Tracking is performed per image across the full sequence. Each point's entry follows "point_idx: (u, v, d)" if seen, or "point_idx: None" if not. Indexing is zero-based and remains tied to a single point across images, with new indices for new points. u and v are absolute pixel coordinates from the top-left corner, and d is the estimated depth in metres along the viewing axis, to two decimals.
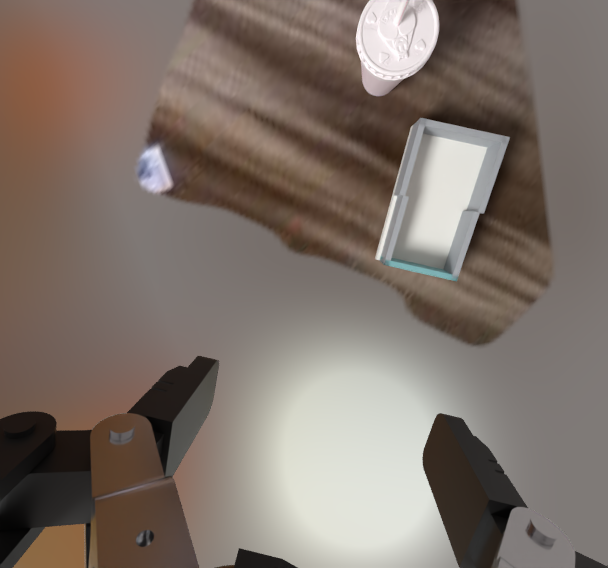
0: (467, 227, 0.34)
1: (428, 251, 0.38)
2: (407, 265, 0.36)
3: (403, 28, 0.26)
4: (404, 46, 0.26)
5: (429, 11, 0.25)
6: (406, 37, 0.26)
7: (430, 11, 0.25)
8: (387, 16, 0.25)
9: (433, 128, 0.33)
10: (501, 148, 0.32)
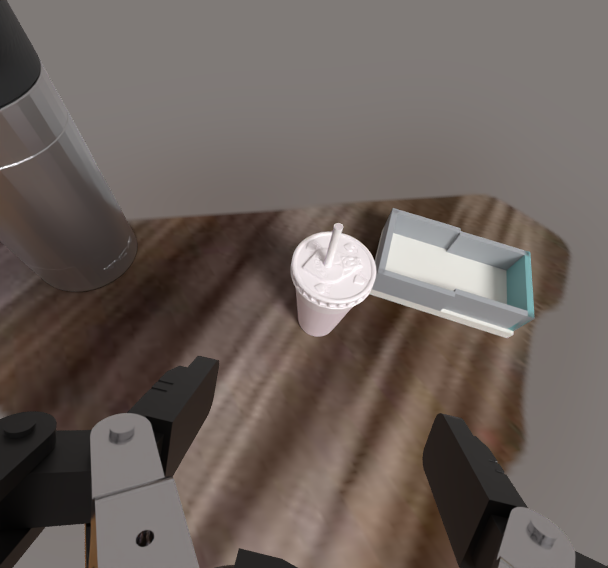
0: (474, 241, 0.35)
1: (491, 282, 0.36)
2: (527, 294, 0.32)
3: (334, 259, 0.24)
4: (351, 259, 0.24)
5: (319, 238, 0.25)
6: (342, 257, 0.24)
7: (320, 237, 0.25)
8: (321, 272, 0.24)
9: (385, 263, 0.32)
10: (402, 213, 0.35)
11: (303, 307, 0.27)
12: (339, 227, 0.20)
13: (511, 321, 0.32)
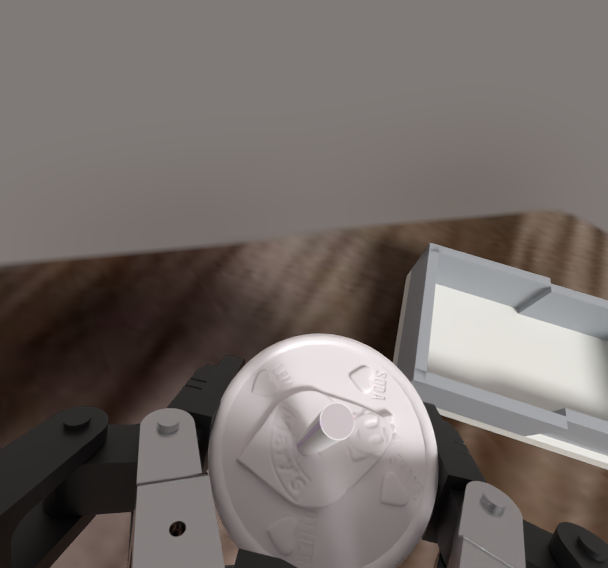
0: (576, 302, 0.20)
1: (602, 370, 0.20)
2: None
3: None
4: (370, 423, 0.09)
5: (290, 355, 0.10)
6: None
7: (290, 352, 0.10)
8: (290, 476, 0.08)
9: None
10: (447, 253, 0.20)
11: None
12: (341, 422, 0.05)
13: None
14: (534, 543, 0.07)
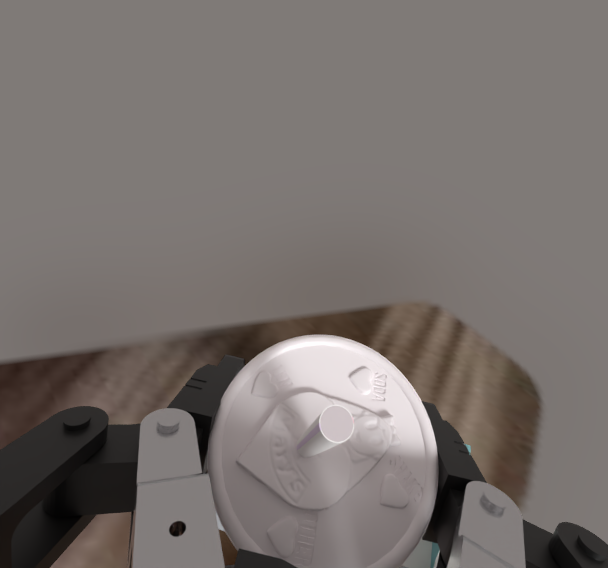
0: None
1: None
2: None
3: None
4: (370, 425, 0.09)
5: (289, 356, 0.10)
6: None
7: (290, 354, 0.10)
8: (290, 478, 0.08)
9: None
10: None
11: None
12: (341, 424, 0.05)
13: None
14: (534, 543, 0.07)
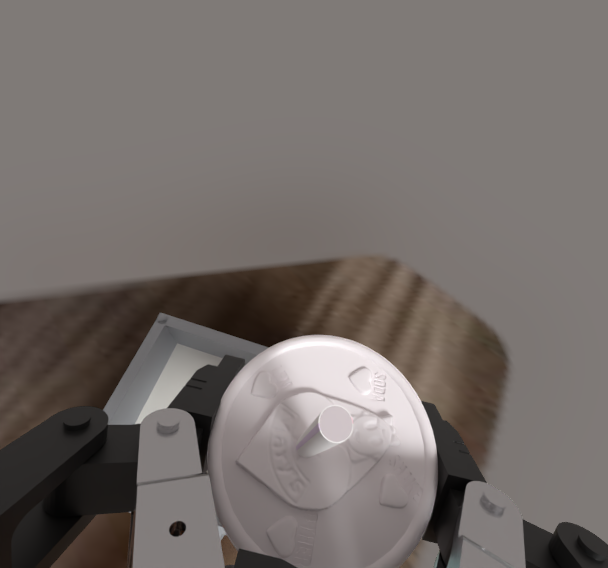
0: None
1: None
2: None
3: None
4: (369, 425, 0.09)
5: (289, 356, 0.10)
6: None
7: (289, 354, 0.10)
8: (289, 478, 0.08)
9: None
10: (175, 325, 0.19)
11: None
12: (340, 424, 0.05)
13: None
14: (534, 543, 0.07)
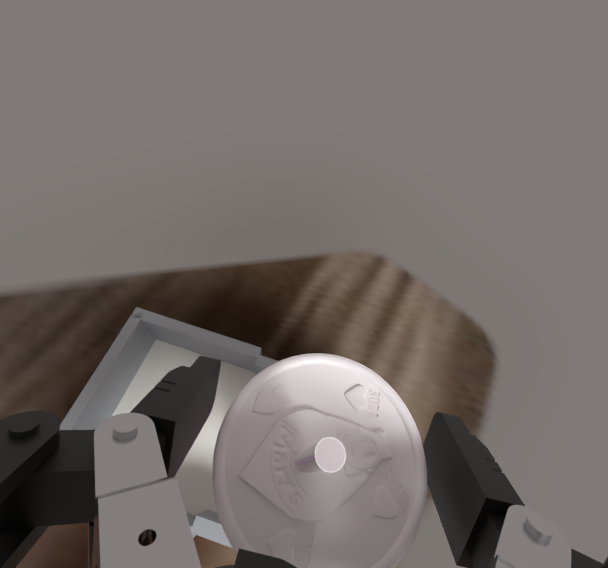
0: None
1: None
2: None
3: None
4: (363, 441, 0.10)
5: (288, 374, 0.11)
6: (342, 434, 0.10)
7: (288, 372, 0.11)
8: (289, 492, 0.09)
9: None
10: (151, 319, 0.18)
11: None
12: (334, 455, 0.06)
13: None
14: None
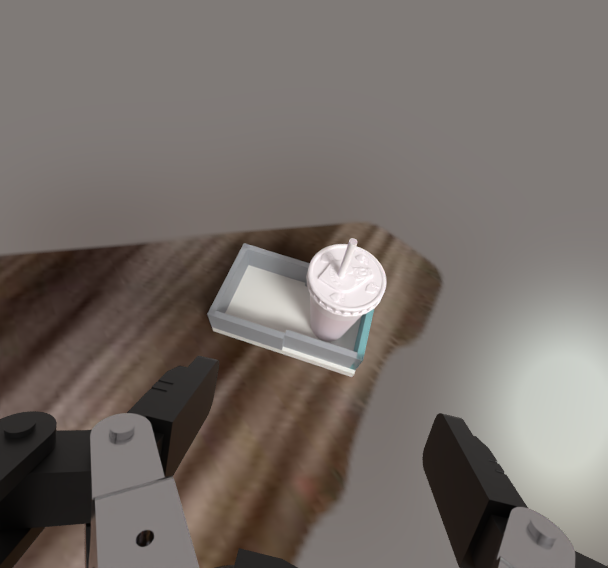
0: None
1: None
2: (363, 334, 0.31)
3: (347, 270, 0.26)
4: (362, 270, 0.26)
5: (333, 250, 0.27)
6: (354, 268, 0.26)
7: (333, 249, 0.27)
8: (336, 282, 0.25)
9: (220, 303, 0.31)
10: (252, 249, 0.35)
11: (317, 314, 0.28)
12: (354, 242, 0.22)
13: (347, 362, 0.31)
14: None
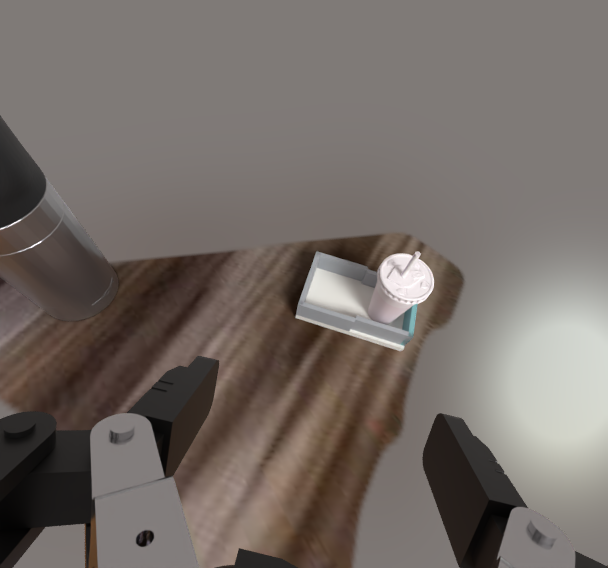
0: None
1: None
2: (411, 319, 0.42)
3: None
4: (417, 272, 0.37)
5: (394, 258, 0.38)
6: (411, 270, 0.37)
7: (394, 257, 0.38)
8: (400, 281, 0.37)
9: (305, 296, 0.43)
10: (323, 256, 0.46)
11: (382, 304, 0.40)
12: (418, 254, 0.34)
13: (399, 339, 0.42)
14: None
